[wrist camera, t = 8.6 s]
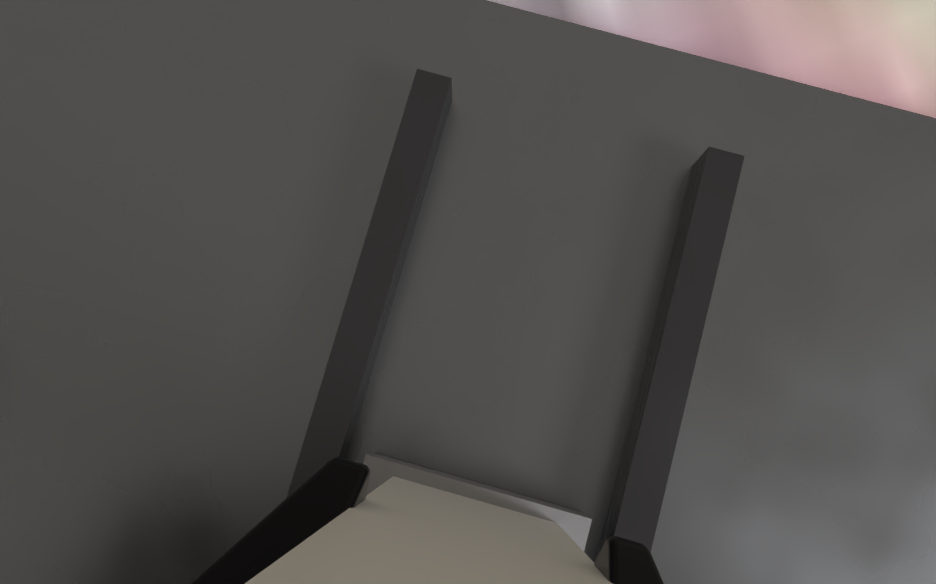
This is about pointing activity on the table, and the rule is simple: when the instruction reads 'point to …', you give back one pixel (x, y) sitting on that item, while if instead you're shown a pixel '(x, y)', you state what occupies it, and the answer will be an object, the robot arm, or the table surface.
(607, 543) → the robot arm
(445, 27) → the breaker panel
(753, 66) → the table surface
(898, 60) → the table surface
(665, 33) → the table surface
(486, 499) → the breaker handle
